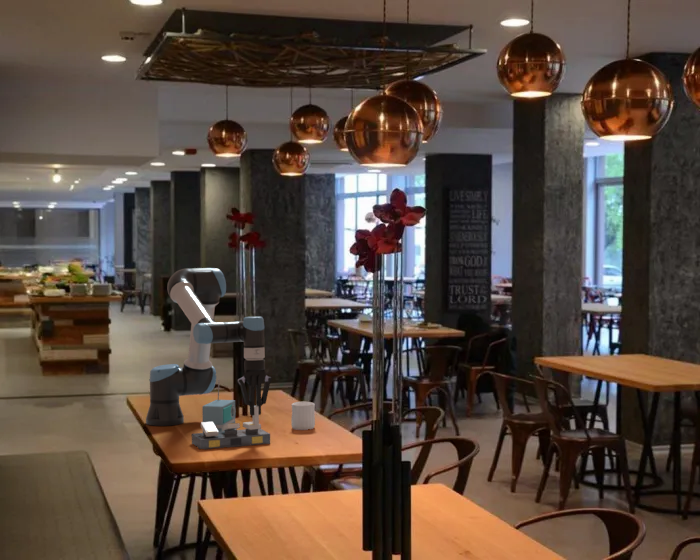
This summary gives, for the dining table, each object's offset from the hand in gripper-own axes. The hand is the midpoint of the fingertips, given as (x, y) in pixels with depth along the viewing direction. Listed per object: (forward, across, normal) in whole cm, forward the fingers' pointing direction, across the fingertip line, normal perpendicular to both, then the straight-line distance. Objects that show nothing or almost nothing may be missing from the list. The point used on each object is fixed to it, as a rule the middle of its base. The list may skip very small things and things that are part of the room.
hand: (255, 423), depth 366 cm
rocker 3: (+1, 0, +4) cm, 5 cm away
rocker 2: (+1, -8, +4) cm, 9 cm away
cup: (+7, +27, +23) cm, 36 cm away
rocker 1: (+1, -16, +4) cm, 17 cm away
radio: (+7, -6, +25) cm, 26 cm away
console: (+7, -8, +5) cm, 12 cm away
